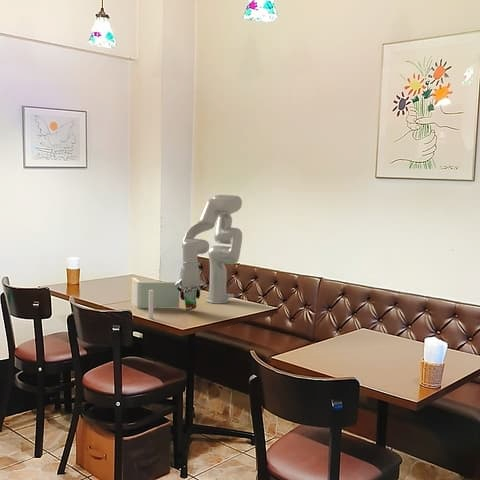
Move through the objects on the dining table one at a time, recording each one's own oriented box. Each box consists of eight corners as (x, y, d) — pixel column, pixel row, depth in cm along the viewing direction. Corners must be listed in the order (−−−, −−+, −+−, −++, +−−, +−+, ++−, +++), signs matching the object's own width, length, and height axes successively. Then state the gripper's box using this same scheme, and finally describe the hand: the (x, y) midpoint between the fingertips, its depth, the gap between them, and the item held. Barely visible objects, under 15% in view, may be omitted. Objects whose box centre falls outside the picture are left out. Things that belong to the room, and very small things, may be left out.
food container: (198, 310, 300) (195, 291, 298) (186, 311, 301) (183, 293, 298) (199, 302, 312) (197, 284, 310) (187, 303, 313) (185, 285, 310)
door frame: (134, 302, 323) (134, 277, 321) (153, 318, 290) (153, 290, 288) (131, 303, 322) (131, 277, 320) (149, 319, 289) (149, 290, 288)
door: (140, 306, 312) (141, 281, 311) (178, 306, 316) (179, 281, 314) (140, 307, 310) (141, 282, 308) (179, 307, 313) (179, 282, 311)
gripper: (203, 262, 309) (203, 295, 312) (171, 265, 302) (171, 298, 305) (208, 265, 303) (208, 299, 305) (176, 267, 295) (176, 302, 298)
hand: (190, 298), depth 305 cm, fingers closed on food container, 7 cm apart
